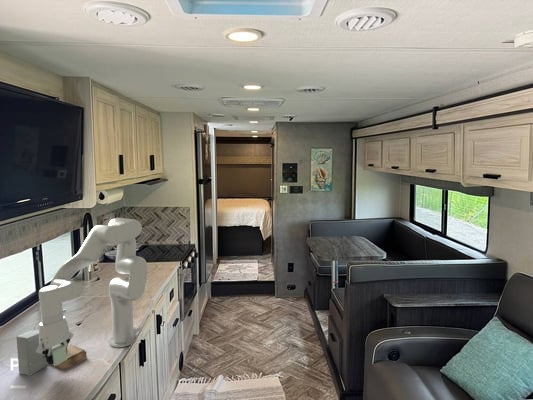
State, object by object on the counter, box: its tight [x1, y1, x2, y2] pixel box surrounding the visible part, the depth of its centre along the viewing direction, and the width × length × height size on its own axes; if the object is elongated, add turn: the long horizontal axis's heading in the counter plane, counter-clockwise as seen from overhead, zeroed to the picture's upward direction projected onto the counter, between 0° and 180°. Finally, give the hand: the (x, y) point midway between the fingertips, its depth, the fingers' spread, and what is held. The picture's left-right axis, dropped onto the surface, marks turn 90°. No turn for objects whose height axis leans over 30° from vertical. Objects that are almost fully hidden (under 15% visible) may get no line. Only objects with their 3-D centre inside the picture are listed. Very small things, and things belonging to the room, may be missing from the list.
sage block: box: [51, 343, 67, 367], centre depth 148 cm, size 5×5×6 cm
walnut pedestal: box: [47, 343, 88, 371], centre depth 160 cm, size 11×11×4 cm
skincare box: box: [15, 328, 48, 377], centre depth 153 cm, size 8×7×16 cm
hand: (57, 359), depth 148 cm, fingers closed on sage block, 5 cm apart
